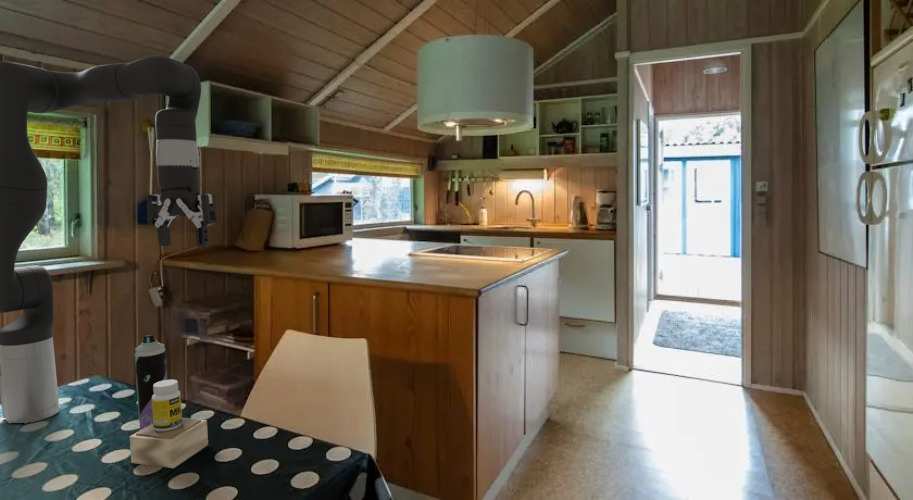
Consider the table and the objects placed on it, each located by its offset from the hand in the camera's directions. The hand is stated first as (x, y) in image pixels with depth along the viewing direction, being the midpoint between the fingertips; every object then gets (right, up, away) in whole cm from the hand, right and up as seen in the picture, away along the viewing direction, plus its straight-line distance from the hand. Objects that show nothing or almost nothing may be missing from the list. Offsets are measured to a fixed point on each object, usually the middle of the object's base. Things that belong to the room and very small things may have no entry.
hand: (183, 246), depth 105 cm
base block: (+1, -39, -6) cm, 40 cm away
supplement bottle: (+1, -34, -7) cm, 35 cm away
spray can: (-8, -38, +4) cm, 39 cm away
